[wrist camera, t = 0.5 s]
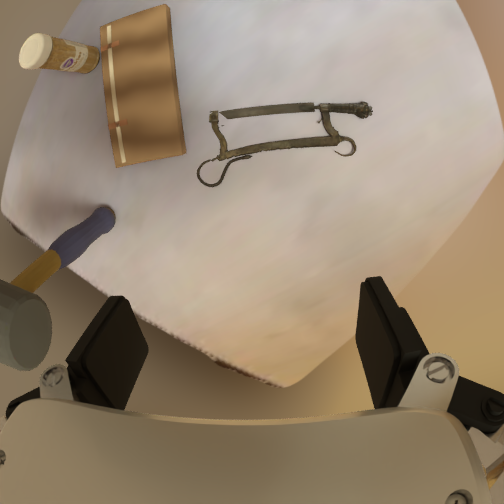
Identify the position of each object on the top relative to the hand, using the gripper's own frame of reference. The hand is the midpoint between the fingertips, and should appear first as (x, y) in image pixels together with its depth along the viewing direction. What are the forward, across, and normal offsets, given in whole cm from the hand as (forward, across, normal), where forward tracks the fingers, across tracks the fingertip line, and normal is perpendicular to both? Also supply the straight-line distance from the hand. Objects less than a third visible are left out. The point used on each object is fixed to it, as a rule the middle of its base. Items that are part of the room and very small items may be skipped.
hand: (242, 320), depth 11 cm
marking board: (+30, +14, -15) cm, 36 cm away
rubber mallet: (+30, +24, +3) cm, 38 cm away
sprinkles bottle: (+30, +23, -22) cm, 44 cm away
